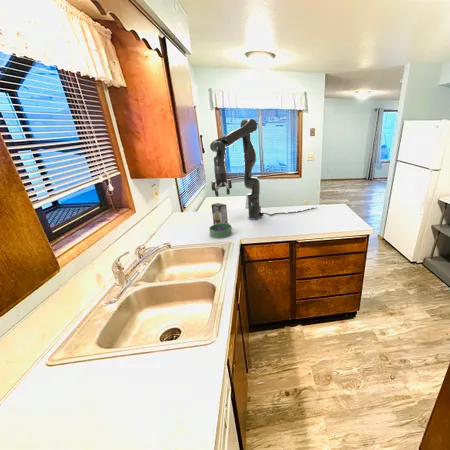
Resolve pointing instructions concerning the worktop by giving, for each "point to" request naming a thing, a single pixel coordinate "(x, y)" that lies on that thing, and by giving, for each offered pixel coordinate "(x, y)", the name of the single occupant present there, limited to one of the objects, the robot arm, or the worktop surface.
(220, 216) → the coffee box
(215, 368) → the worktop surface
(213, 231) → the bowl
